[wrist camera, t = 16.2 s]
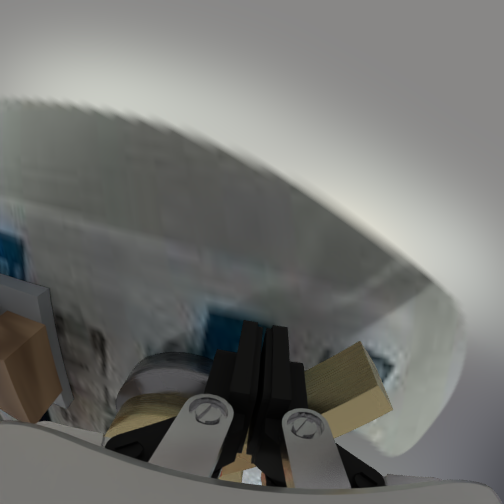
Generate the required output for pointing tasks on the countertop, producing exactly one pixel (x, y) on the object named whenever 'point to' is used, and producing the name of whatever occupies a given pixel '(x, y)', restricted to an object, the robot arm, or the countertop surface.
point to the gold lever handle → (318, 396)
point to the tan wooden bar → (26, 368)
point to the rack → (40, 310)
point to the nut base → (167, 376)
